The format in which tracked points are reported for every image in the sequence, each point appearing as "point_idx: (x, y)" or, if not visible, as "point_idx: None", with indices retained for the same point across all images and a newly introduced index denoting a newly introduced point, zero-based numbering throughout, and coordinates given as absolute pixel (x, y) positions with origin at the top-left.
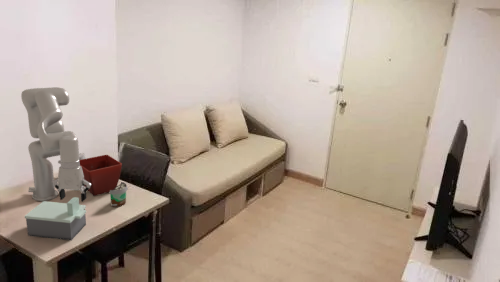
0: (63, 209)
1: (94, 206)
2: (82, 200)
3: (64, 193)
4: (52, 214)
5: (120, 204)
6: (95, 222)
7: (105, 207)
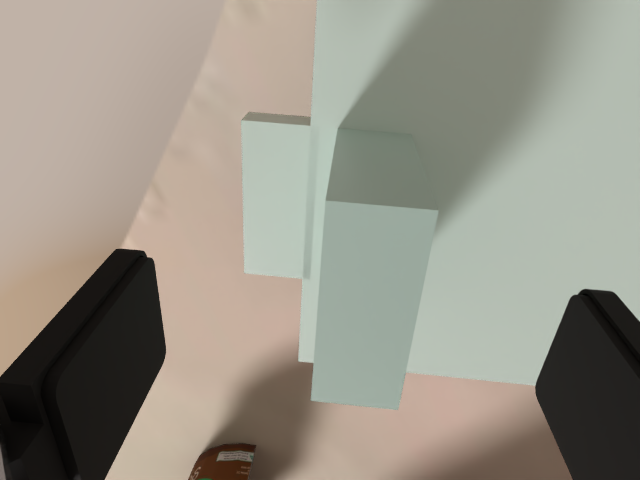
0: (512, 264)
1: (359, 443)
2: (106, 261)
3: (572, 452)
4: (629, 127)
5: (201, 461)
6: (269, 276)
7: (287, 436)
